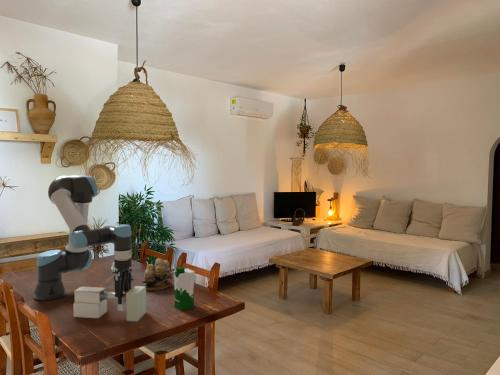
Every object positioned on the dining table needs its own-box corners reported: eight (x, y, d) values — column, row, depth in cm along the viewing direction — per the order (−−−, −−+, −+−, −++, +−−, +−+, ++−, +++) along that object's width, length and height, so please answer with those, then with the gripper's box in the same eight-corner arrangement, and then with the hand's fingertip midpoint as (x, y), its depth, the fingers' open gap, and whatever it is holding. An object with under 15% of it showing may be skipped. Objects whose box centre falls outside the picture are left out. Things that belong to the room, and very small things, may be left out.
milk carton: (172, 306, 187) (171, 266, 186) (188, 302, 193) (187, 263, 191) (180, 312, 180) (180, 270, 179) (197, 307, 186) (196, 267, 184)
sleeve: (73, 316, 174) (73, 291, 173) (83, 310, 182) (82, 285, 181) (98, 318, 173) (97, 292, 172) (107, 311, 181) (106, 286, 180)
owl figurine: (167, 281, 225) (167, 253, 224) (177, 287, 216) (177, 257, 215) (138, 288, 214) (138, 258, 212) (148, 294, 205) (147, 263, 203)
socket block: (126, 320, 170) (126, 293, 169) (136, 311, 180) (135, 286, 179) (137, 321, 169) (137, 293, 169) (146, 312, 179) (145, 286, 178)
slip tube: (96, 301, 174) (95, 292, 174) (101, 298, 179) (100, 289, 178) (135, 304, 172) (135, 294, 172) (139, 300, 176) (139, 291, 176)
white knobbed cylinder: (124, 274, 226) (109, 260, 245) (124, 285, 228) (109, 270, 246) (133, 272, 230) (117, 259, 248) (132, 283, 231) (117, 268, 250)
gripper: (122, 264, 164) (122, 316, 166) (138, 254, 182) (139, 301, 183) (105, 263, 165) (106, 315, 167) (123, 253, 183) (124, 300, 184)
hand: (123, 308), depth 175 cm, fingers closed on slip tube, 4 cm apart
